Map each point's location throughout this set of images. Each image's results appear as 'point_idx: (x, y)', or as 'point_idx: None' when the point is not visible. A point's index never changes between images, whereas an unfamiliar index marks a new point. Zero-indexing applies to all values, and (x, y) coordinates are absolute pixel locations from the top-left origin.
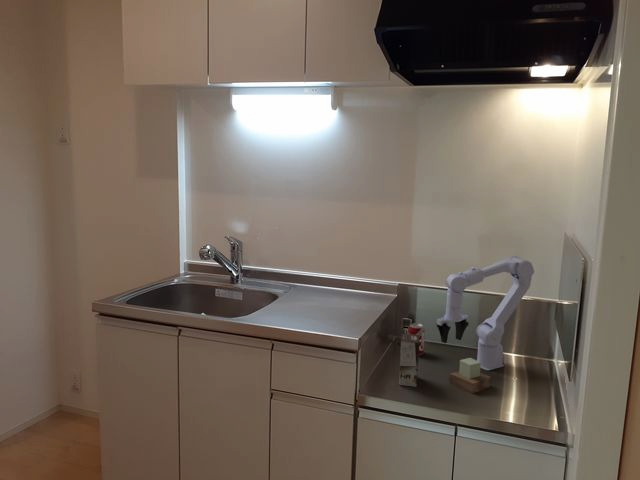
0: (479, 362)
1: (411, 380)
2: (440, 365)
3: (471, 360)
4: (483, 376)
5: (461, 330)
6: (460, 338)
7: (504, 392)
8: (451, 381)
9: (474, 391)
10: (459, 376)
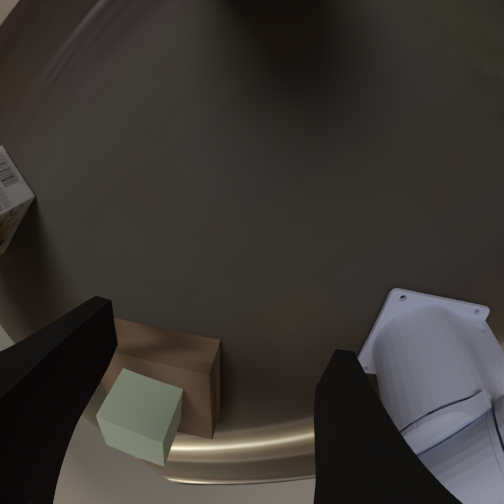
0: (159, 464)
1: None
2: (227, 172)
3: (143, 446)
4: (191, 426)
5: (319, 496)
6: (317, 408)
7: (221, 434)
8: None
9: None
10: (107, 375)
